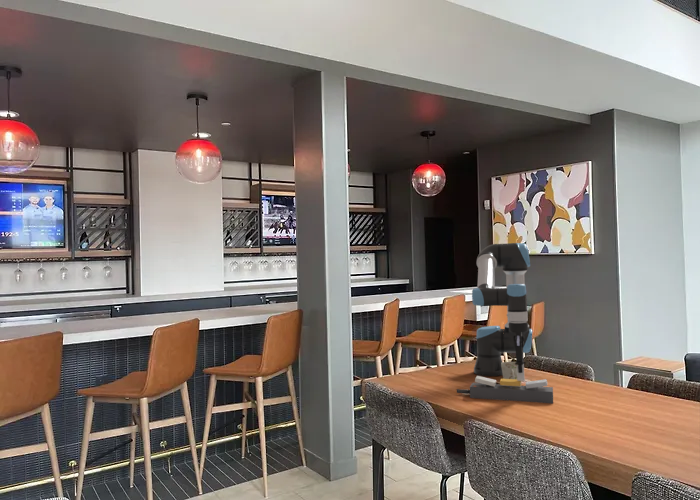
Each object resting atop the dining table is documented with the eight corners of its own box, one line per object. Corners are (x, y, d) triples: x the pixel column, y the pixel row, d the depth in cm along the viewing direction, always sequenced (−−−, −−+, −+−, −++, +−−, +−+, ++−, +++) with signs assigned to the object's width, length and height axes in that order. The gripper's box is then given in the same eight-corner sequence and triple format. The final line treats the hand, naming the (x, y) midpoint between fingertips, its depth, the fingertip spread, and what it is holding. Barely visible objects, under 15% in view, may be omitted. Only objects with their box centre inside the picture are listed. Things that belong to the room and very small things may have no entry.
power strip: (458, 392, 227) (458, 379, 227) (553, 398, 213) (552, 385, 214) (455, 396, 220) (455, 383, 220) (553, 403, 206) (552, 389, 206)
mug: (518, 383, 240) (518, 361, 241) (525, 390, 228) (524, 367, 228) (500, 383, 241) (499, 361, 241) (505, 390, 229) (504, 367, 229)
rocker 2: (501, 382, 219) (501, 378, 220) (521, 383, 217) (521, 379, 217) (500, 385, 215) (499, 381, 215) (520, 386, 212) (520, 382, 212)
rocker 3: (527, 385, 216) (526, 381, 216) (547, 383, 213) (546, 379, 213) (526, 388, 211) (525, 384, 211) (547, 385, 208) (546, 381, 208)
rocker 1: (476, 379, 223) (477, 375, 223) (495, 383, 220) (496, 380, 220) (474, 381, 218) (475, 378, 218) (494, 386, 216) (495, 382, 216)
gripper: (509, 320, 223) (512, 376, 222) (507, 323, 210) (510, 383, 209) (528, 320, 220) (531, 377, 219) (527, 323, 208) (530, 384, 207)
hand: (521, 380), depth 214 cm, fingers closed
